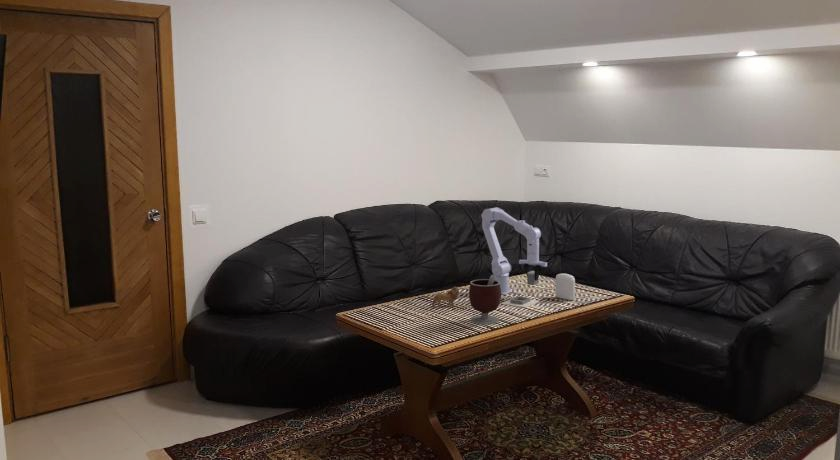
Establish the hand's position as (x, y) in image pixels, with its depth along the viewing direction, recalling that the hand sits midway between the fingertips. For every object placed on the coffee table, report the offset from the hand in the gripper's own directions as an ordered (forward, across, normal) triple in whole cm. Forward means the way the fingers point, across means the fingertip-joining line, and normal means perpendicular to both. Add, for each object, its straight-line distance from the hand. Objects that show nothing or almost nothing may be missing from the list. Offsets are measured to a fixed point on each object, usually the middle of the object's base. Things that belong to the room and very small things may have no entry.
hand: (532, 279), depth 320 cm
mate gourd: (+9, -2, +48) cm, 49 cm away
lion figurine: (+10, +27, +38) cm, 47 cm away
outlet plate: (+9, 0, +13) cm, 16 cm away
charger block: (+2, 0, 0) cm, 2 cm away
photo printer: (+9, -14, -7) cm, 18 cm away
